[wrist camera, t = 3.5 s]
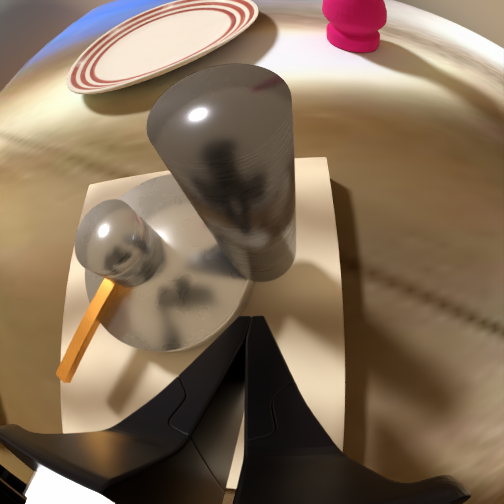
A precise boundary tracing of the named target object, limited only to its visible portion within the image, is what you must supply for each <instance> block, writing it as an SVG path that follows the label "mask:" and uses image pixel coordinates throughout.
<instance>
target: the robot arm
mask: <svg viewBox="0 0 504 504" xmlns="http://www.w3.org/2000/svg"><path fill="white" fill-rule="evenodd" d="M243 414H244V455H243V463H242V467H241V471H240V476H239V480H238V484H237V488H236V492H235V496H234V500H233V504H462V503H464V502H465V501H467V500H468V499H469V498H470V497H471V494H470V492H469V490H468V489H467V488H466V487H465V486H464V485H463V484H462V483H461V482H459V481H458V480H457V479H455V478H454V477H452V476H450V475H442V476H437V477H433V478H430V479H426V480H423V481H419V482H414V483H400V482H395V481H392V480H389V479H387V478H385V477H383V476H382V475H380V474H378V473H376V472H374V471H372V470H370V469H369V468H367V467H365V466H363V465H361V464H360V463H358V462H356V461H355V460H353V459H351V458H349V457H348V456H347V455H345V454H344V453H343V452H342V451H341V450H340V449H339V448H338V447H337V445H336V444H335V443H334V442H333V440H332V439H331V438H330V436H329V435H328V433H327V432H326V431H325V429H324V428H323V427H322V425H321V424H320V422H319V421H318V420H317V418H316V417H315V416H314V414H313V413H312V411H311V410H310V408H309V407H308V405H307V403H306V402H305V400H304V398H303V396H302V394H301V393H300V391H299V389H298V387H297V384H296V382H295V381H294V378H293V376H292V374H291V372H290V370H289V368H288V366H287V363H286V361H285V359H284V357H283V355H282V353H281V351H280V348H279V346H278V344H277V342H276V340H275V338H274V336H273V333H272V331H271V329H270V327H269V325H268V323H267V320H266V318H265V317H264V316H252V317H251V316H239V317H237V318H236V319H235V320H234V321H233V322H232V323H231V324H230V325H229V326H228V327H227V328H226V329H225V330H224V331H223V332H222V333H221V334H220V335H219V336H218V337H217V338H216V339H215V340H214V341H213V342H212V343H211V344H210V345H209V346H208V347H207V348H206V349H205V350H204V351H203V352H202V353H201V354H200V355H199V356H198V357H197V358H196V359H195V360H194V361H193V362H192V363H191V364H190V365H189V366H188V367H187V368H186V369H185V370H184V371H182V372H181V373H180V374H179V377H176V378H175V379H174V380H173V381H172V382H171V383H170V384H169V385H167V386H166V387H165V388H164V389H163V390H162V391H161V392H160V393H158V394H157V395H156V396H155V397H153V398H152V399H151V400H149V401H148V402H147V403H146V404H144V405H143V406H141V407H140V408H139V409H137V410H136V411H135V412H133V413H132V414H130V415H129V416H128V417H126V418H125V419H123V420H122V421H121V422H119V423H117V424H116V425H114V426H112V427H110V428H108V429H105V430H101V431H94V432H81V433H63V434H39V433H33V432H29V431H27V430H25V429H23V428H21V427H20V426H18V425H15V424H8V425H1V426H0V442H1V443H2V444H3V445H4V446H5V447H6V448H7V449H8V450H10V451H11V452H12V453H13V454H14V455H15V456H16V457H18V458H19V459H20V460H21V461H22V462H23V463H25V464H26V465H27V466H28V467H30V468H31V469H32V470H33V473H32V475H31V477H30V479H29V481H28V483H27V484H25V483H24V482H23V481H21V480H20V479H18V478H17V477H16V476H14V475H13V474H12V473H10V472H9V471H8V470H7V469H5V468H4V467H3V466H2V465H0V504H222V502H223V498H224V494H225V493H224V492H225V489H226V486H227V482H228V478H229V473H230V469H231V465H232V461H233V457H234V453H235V449H236V445H237V440H238V436H239V432H240V427H241V423H242V419H243Z"/></svg>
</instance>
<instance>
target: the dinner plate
mask: <svg viewBox="0 0 504 504" xmlns="http://www.w3.org/2000/svg"><path fill="white" fill-rule="evenodd" d="M258 14H259V9H258V7H257V5H256V4H255V3H254V2H252V1H251V0H178V1H174V2H170V3H167V4H164V5H161V6H158V7H155V8H153V9H150V10H148V11H145V12H143V13H141V14H138V15H136V16H134V17H132V18H130V19H128V20H126V21H124V22H123V23H121V24H119V25H118V26H116V27H114V28H113V29H111V30H110V31H108V32H107V33H105V34H104V35H103V36H101V37H100V38H99V39H98V40H96V41H95V42H94V43H93V44H92V45H91V46H89V47H88V48H87V49H86V50H85V51H84V52H83V53H82V54H81V55H80V57H79V58H78V59H77V60H76V62H75V63H74V64H73V66H72V68H71V69H70V71H69V74H68V76H67V81H66V82H67V87H68V88H69V90H71V91H72V92H74V93H78V94H97V93H103V92H108V91H113V90H117V89H121V88H125V87H128V86H131V85H134V84H138V83H141V82H143V81H146V80H149V79H152V78H154V77H157V76H160V75H162V74H165V73H167V72H169V71H172V70H174V69H177V68H179V67H181V66H183V65H186V64H188V63H190V62H192V61H194V60H196V59H198V58H200V57H202V56H204V55H206V54H208V53H210V52H212V51H213V50H215V49H217V48H219V47H220V46H222V45H224V44H226V43H227V42H229V41H230V40H232V39H233V38H235V37H236V36H238V35H239V34H240V33H242V32H243V31H244V30H246V29H247V28H248V27H249V26H250V25H251V24H252V23H253V22H254V21H255V20H256V18H257V16H258Z"/></svg>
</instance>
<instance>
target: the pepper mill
mask: <svg viewBox="0 0 504 504" xmlns="http://www.w3.org/2000/svg"><path fill="white" fill-rule="evenodd" d="M322 11H323V14H324V16H325V17H326V18H327V19H328V20H329V21H330V23H329V24H328V25H327V39H328V41H329V42H330V43H331V44H333V45H334V46H336V47H338V48H341V49H344V50H347V51H352V52H358V53H366V52H372V51H375V50H376V49H377V48H378V46H379V40H380V34H379V32H378V31H377V30H379V29H381V28H382V27H383V26H384V25H385V23H386V19H387V11H386V7H385V3H384V1H383V0H323V7H322Z"/></svg>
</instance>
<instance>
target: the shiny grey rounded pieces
mask: <svg viewBox="0 0 504 504" xmlns="http://www.w3.org/2000/svg"><path fill="white" fill-rule="evenodd" d="M147 134H148V137H149V140H150V142H151V143H152V145H153V146H154V148H155V149H156V151H157V153H158V154H159V156H160V157H161V159H162V160H163V162H164V163H165V165H166V166H167V168H168V169H169V171H170V173H171V174H168V175H163V176H159V177H155V178H152V179H149V180H147V181H145V182H143V183H141V184H139V185H137V186H135V187H134V188H132V189H130V190H129V191H128V192H126V193H125V194H124V195H122V196H121V197H120V198H119V199H110V200H106V201H103V202H101V203H99V204H98V205H96V206H95V207H93V208H92V209H91V210H90V211H89V212H88V213H87V214H86V215H85V217H84V218H83V220H82V222H81V223H80V225H79V227H78V230H77V233H76V237H75V254H76V257H77V260H78V261H79V263H80V264H81V265H82V266H83V267H84V268H85V285H86V291H87V296H88V300H89V302H90V305H89V307H88V309H87V311H86V313H85V315H84V316H83V318H82V320H81V322H80V324H79V326H78V328H77V330H76V332H75V334H74V336H73V338H72V340H71V342H70V344H69V346H68V348H67V351H66V353H65V355H64V357H63V359H62V361H61V364H60V366H59V368H58V370H57V373H56V375H57V376H58V377H59V378H60V379H61V380H62V382H63V383H71V381H72V378H73V376H74V374H75V372H76V370H77V368H78V366H79V364H80V362H81V360H82V358H83V356H84V354H85V352H86V350H87V348H88V346H89V344H90V342H91V340H92V338H93V336H94V334H95V332H96V330H97V328H98V326H99V325H100V323H101V324H102V326H103V327H104V328H105V329H106V330H107V331H108V332H109V333H110V334H111V335H112V336H114V337H115V338H116V339H118V340H119V341H121V342H123V343H125V344H127V345H129V346H131V347H134V348H137V349H141V350H147V351H157V352H182V351H189V350H192V349H196V348H199V347H201V346H203V345H206V344H208V343H210V342H211V341H213V340H215V339H216V338H217V337H218V336H219V335H220V334H221V333H222V332H223V331H224V330H225V329H226V328H227V327H228V326H229V325H230V324H231V323H232V322H233V321H234V320H235V319H236V318H237V317H239V316H240V314H241V313H242V312H243V310H244V309H245V307H246V305H247V303H248V301H249V299H250V296H251V294H252V291H253V288H254V284H255V281H256V282H268V281H272V280H275V279H277V278H279V277H281V276H282V275H284V274H285V273H286V272H287V271H288V270H289V269H290V267H291V266H292V264H293V262H294V259H295V256H296V193H295V160H294V136H293V116H292V99H291V93H290V90H289V87H288V85H287V84H286V83H285V81H284V80H283V79H282V78H281V77H280V76H278V75H277V74H275V73H274V72H272V71H270V70H268V69H265V68H262V67H259V66H255V65H249V64H225V65H218V66H213V67H210V68H206V69H203V70H200V71H197V72H195V73H193V74H190V75H188V76H186V77H185V78H183V79H181V80H179V81H178V82H176V83H175V84H174V85H172V86H171V87H170V88H168V89H167V90H166V91H165V92H164V93H163V94H162V95H161V96H160V97H159V99H158V100H157V101H156V103H155V104H154V106H153V107H152V109H151V111H150V114H149V116H148V120H147Z"/></svg>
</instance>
